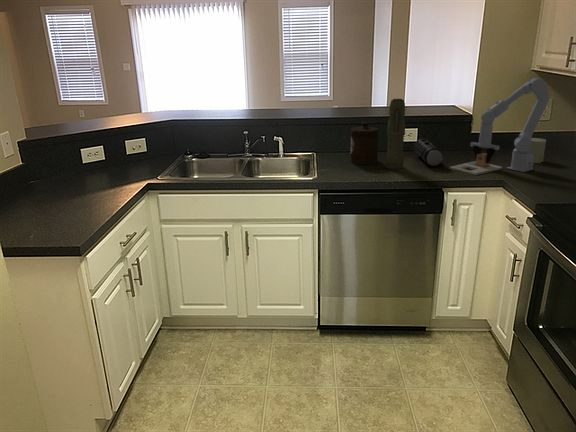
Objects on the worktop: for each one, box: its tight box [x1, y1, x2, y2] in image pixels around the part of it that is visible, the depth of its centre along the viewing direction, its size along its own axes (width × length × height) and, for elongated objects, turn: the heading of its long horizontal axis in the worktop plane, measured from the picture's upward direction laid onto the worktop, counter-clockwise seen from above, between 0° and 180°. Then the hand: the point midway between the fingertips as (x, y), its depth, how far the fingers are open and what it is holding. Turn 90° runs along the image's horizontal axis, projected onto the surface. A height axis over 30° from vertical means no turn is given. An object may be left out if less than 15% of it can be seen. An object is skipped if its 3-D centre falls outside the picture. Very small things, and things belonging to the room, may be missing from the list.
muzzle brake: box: [413, 138, 444, 167], centre depth 257 cm, size 10×28×10 cm, turn 178°
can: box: [529, 137, 547, 164], centre depth 250 cm, size 9×9×12 cm
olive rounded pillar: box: [385, 98, 406, 171], centre depth 243 cm, size 9×12×35 cm
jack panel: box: [449, 160, 503, 176], centre depth 242 cm, size 16×20×1 cm
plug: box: [475, 152, 490, 168], centre depth 243 cm, size 4×5×6 cm
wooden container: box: [350, 121, 379, 165], centre depth 260 cm, size 15×15×22 cm
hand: (482, 162), depth 243 cm, fingers closed on plug, 5 cm apart
